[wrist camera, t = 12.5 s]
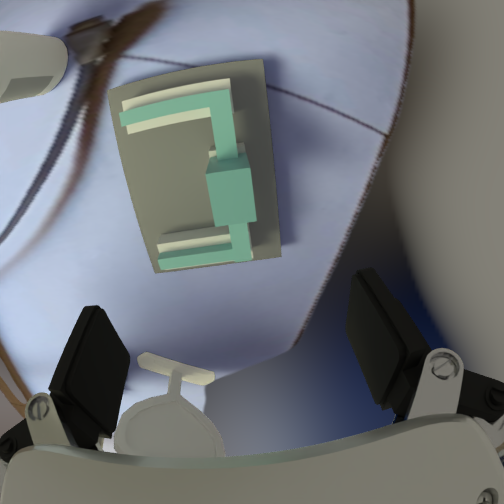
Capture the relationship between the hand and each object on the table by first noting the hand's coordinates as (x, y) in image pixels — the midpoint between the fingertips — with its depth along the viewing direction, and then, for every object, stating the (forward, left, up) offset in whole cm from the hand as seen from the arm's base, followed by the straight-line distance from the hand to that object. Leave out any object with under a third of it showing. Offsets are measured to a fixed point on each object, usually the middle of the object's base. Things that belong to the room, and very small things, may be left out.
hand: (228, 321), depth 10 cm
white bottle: (+16, +18, -21) cm, 32 cm away
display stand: (0, +3, -20) cm, 20 cm away
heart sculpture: (-31, +14, -21) cm, 39 cm away
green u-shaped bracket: (0, +3, -16) cm, 16 cm away
